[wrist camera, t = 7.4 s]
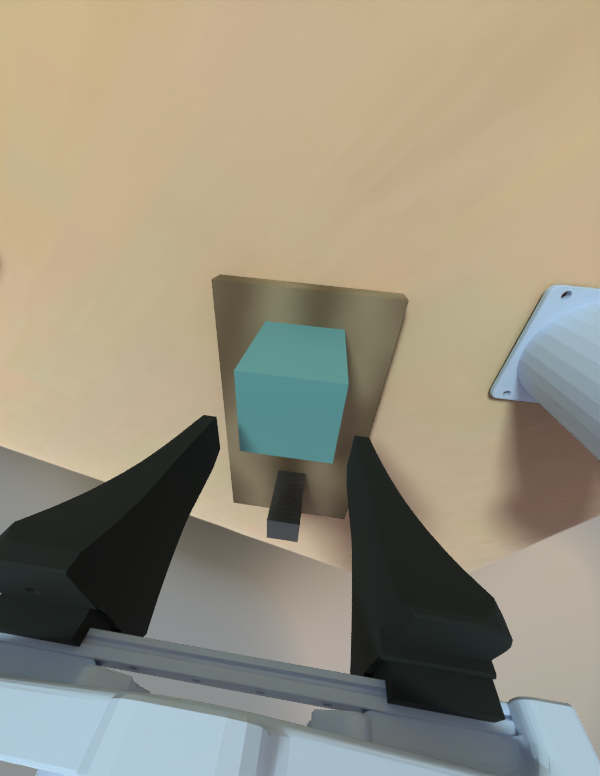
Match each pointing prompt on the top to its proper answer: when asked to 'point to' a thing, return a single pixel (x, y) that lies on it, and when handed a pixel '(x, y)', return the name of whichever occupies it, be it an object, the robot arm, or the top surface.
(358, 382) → the brown wooden board
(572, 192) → the top surface
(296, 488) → the graphite post
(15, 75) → the top surface
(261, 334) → the teal block
